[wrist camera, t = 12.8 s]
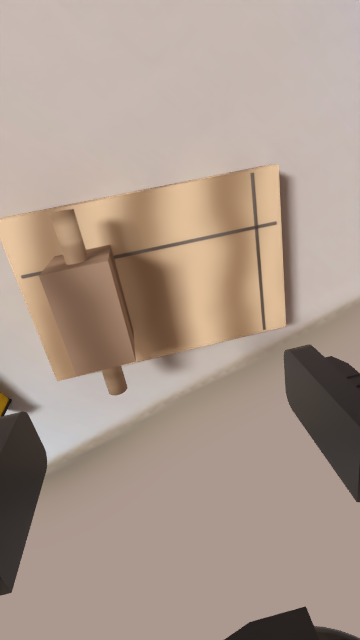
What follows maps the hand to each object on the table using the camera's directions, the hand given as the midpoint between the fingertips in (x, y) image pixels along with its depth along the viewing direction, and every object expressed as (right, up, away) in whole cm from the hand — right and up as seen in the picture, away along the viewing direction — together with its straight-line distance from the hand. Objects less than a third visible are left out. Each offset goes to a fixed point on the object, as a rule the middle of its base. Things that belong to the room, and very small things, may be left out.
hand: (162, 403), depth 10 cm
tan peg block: (-6, +4, +15) cm, 16 cm away
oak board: (-1, +7, +17) cm, 19 cm away
